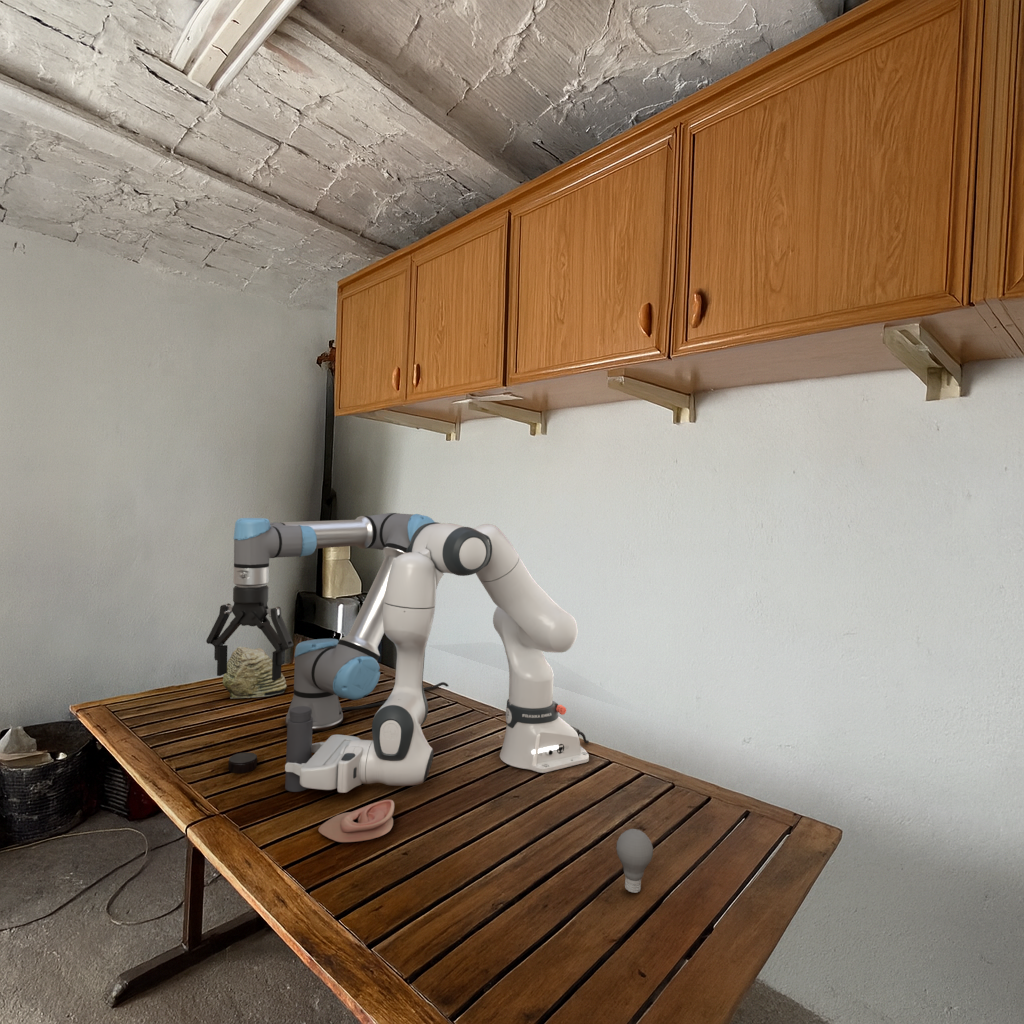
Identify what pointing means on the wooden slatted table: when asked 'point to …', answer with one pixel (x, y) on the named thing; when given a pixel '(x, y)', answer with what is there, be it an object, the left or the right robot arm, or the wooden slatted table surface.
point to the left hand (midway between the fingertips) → (249, 676)
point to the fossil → (251, 675)
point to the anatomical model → (360, 823)
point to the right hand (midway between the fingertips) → (295, 757)
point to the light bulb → (634, 857)
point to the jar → (298, 743)
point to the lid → (242, 762)
